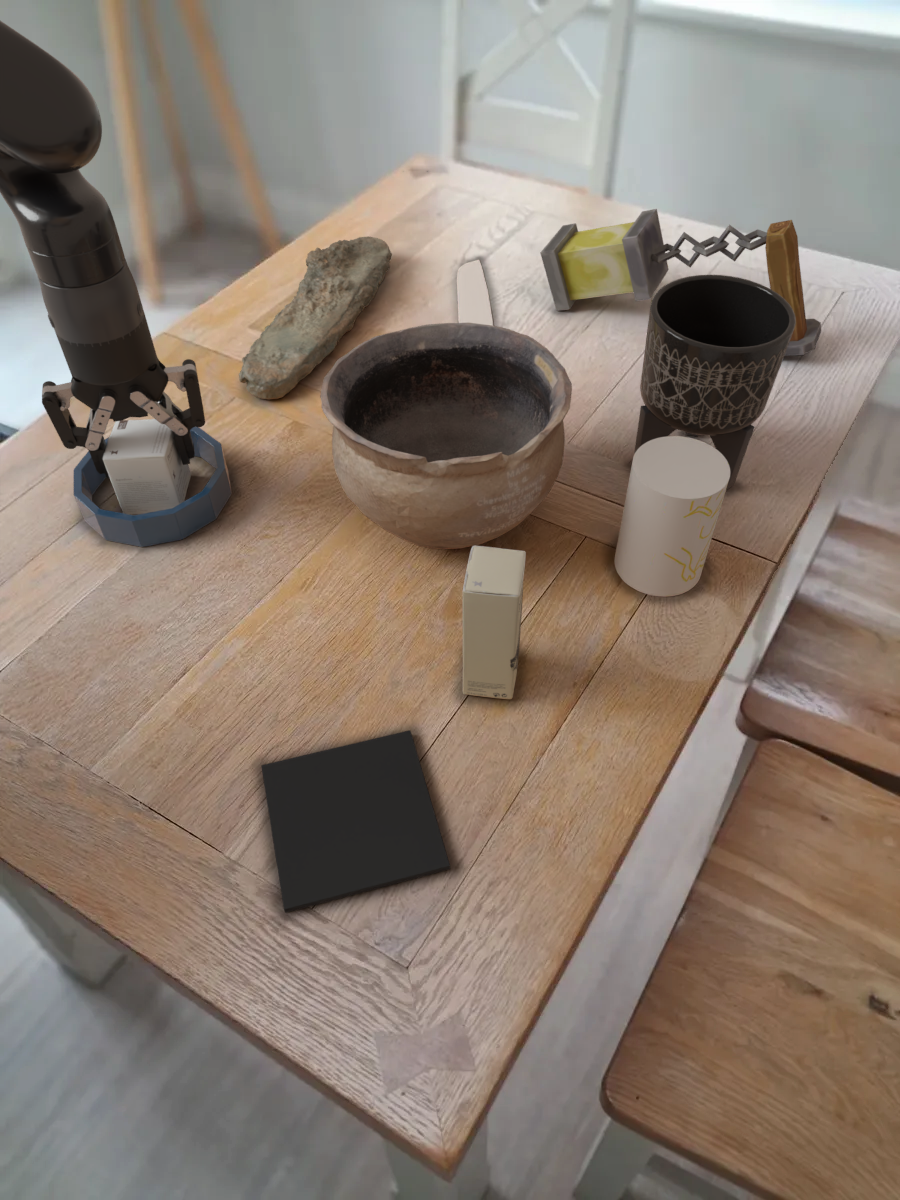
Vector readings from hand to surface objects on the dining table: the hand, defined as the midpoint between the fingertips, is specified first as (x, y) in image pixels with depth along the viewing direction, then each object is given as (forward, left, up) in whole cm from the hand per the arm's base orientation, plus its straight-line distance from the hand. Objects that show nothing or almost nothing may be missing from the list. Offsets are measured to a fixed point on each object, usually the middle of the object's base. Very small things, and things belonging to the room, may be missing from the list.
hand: (148, 465), depth 89 cm
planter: (+54, -10, -4) cm, 55 cm away
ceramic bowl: (+28, -10, -4) cm, 30 cm away
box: (+26, -31, -4) cm, 41 cm away
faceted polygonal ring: (0, 0, -4) cm, 4 cm away
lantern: (+64, +15, -4) cm, 66 cm away
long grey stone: (+22, +27, -4) cm, 35 cm away
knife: (+40, +21, -4) cm, 45 cm away
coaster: (+12, -41, -4) cm, 43 cm away
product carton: (0, 0, -4) cm, 4 cm away
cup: (+45, -23, -4) cm, 51 cm away
